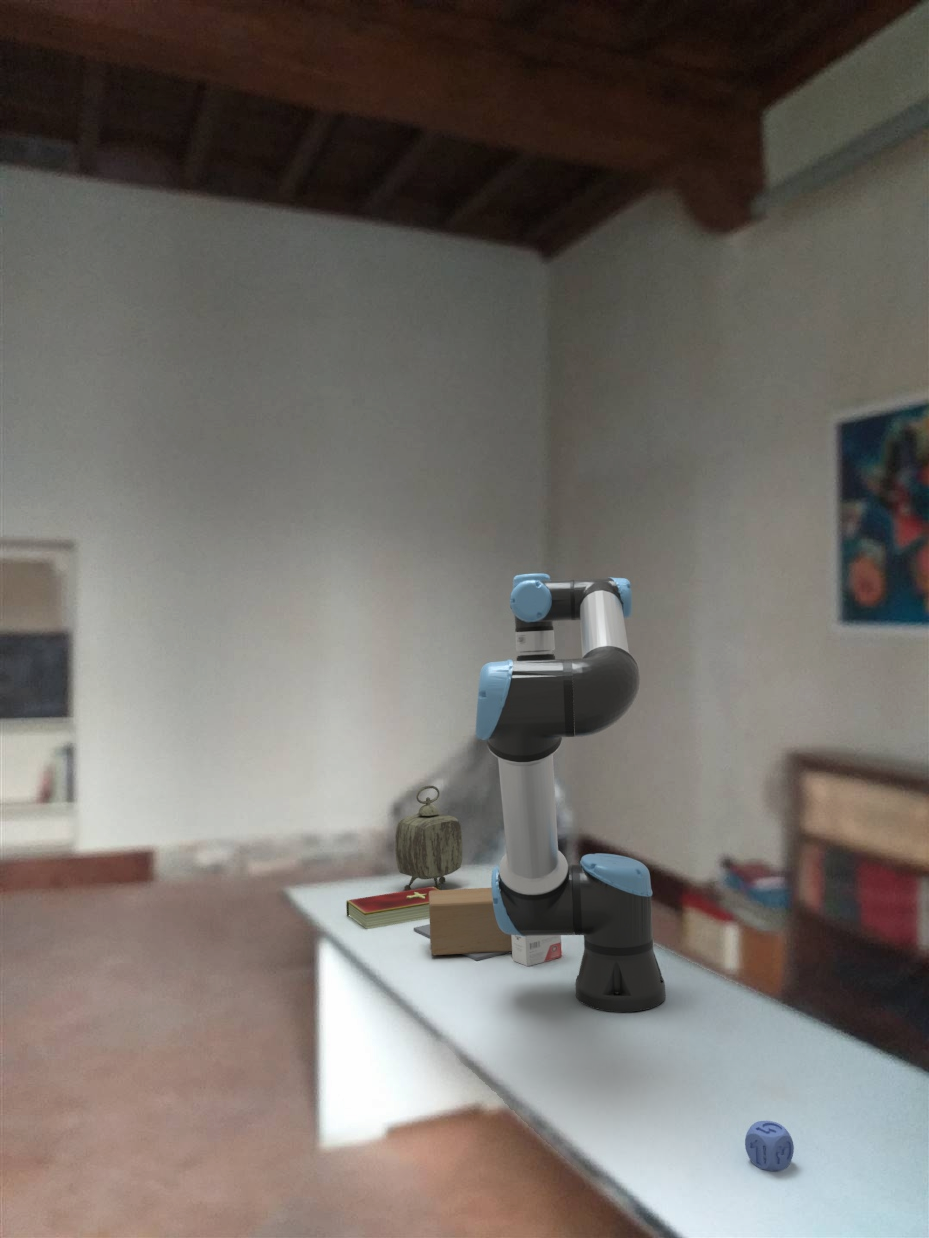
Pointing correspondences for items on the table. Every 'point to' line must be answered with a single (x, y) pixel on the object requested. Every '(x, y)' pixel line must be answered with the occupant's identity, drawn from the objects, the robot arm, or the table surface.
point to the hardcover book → (390, 908)
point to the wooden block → (465, 922)
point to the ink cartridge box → (535, 948)
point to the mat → (476, 956)
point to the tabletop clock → (428, 843)
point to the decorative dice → (769, 1145)
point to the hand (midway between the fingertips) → (541, 775)
